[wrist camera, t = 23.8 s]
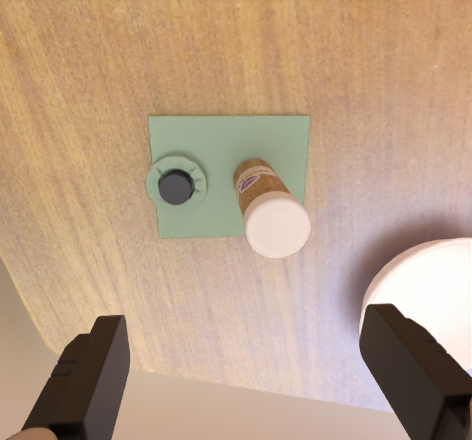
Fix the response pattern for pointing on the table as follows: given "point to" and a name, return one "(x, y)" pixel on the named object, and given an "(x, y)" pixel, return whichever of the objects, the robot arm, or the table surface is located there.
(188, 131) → the scale
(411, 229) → the table surface
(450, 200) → the table surface
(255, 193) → the sprinkles bottle
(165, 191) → the button
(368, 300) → the bowl
